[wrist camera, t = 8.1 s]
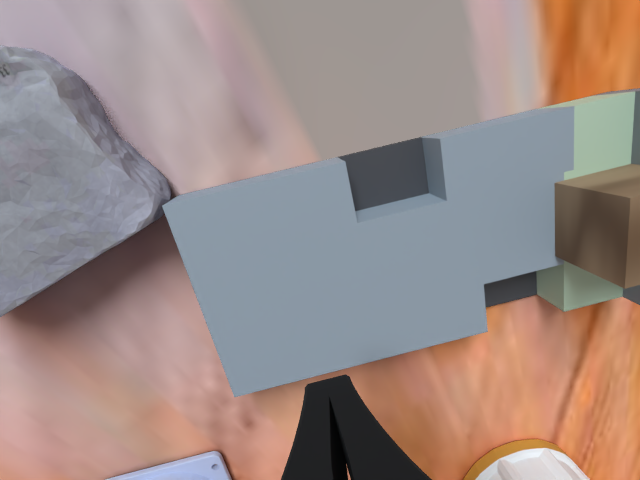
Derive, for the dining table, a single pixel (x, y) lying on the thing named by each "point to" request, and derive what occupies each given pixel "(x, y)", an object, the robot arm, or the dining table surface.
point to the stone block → (62, 177)
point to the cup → (526, 463)
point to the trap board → (395, 241)
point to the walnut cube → (601, 223)
